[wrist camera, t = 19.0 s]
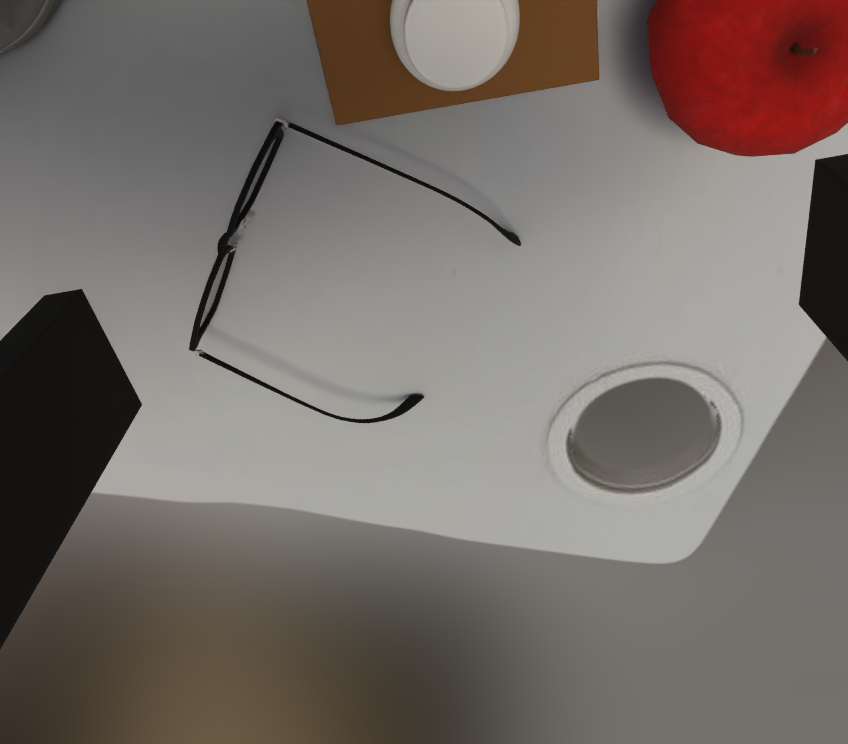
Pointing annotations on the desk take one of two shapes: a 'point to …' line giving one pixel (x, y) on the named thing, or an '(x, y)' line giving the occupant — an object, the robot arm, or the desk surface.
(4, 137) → the desk surface
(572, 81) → the mat
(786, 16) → the apple
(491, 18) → the pill bottle
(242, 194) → the eyeglasses
